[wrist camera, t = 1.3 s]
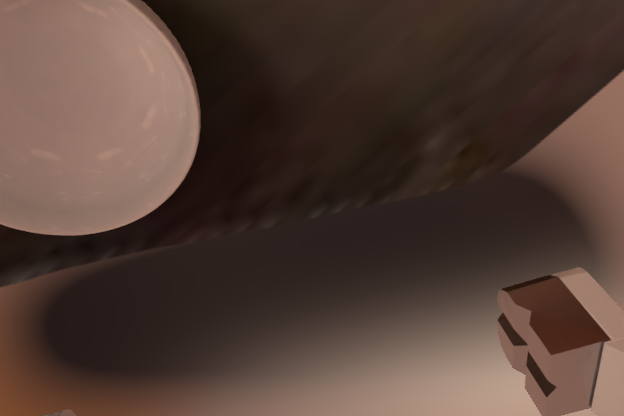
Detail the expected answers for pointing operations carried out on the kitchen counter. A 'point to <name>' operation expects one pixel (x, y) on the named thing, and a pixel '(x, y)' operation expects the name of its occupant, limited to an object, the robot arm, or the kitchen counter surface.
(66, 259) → the kitchen counter surface
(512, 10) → the kitchen counter surface
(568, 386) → the robot arm
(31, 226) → the cereal bowl
